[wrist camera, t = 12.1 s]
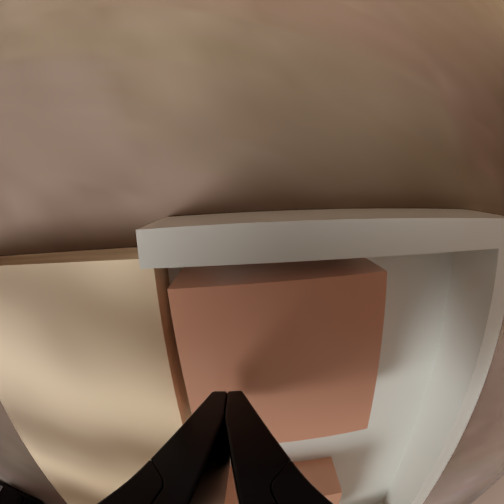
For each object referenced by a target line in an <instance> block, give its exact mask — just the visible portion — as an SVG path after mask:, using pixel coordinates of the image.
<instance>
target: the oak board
mask: <svg viewBox="0 0 504 504" xmlns="http://www.w3.org/2000/svg"><path fill="white" fill-rule="evenodd" d="M169 286H170V282H169V274H168V268H152V269H140V265H139V256H138V248H137V247H132V248H116V249H100V250H84V251H69V252H54V253H39V254H25V255H11V256H0V401H1V403H2V405H3V407H4V409H5V411H6V412H7V414H8V416H9V418H10V420H11V422H12V424H13V425H14V427H15V429H16V431H17V432H18V434H19V436H20V438H21V439H22V441H23V443H24V444H25V446H26V447H27V449H28V451H29V452H30V454H31V455H32V457H33V458H34V460H35V461H36V463H37V464H38V466H39V467H40V469H41V470H42V471H43V473H44V474H45V476H46V477H47V478H48V480H49V481H50V482H51V484H52V485H53V486H54V488H55V489H56V490H57V492H58V493H59V494H60V495H61V497H62V498H63V499H64V500H65V502H66V503H67V504H97V503H99V502H100V501H101V500H103V499H104V498H106V497H107V496H108V495H110V494H111V493H112V492H114V491H115V490H117V489H118V488H119V487H120V486H122V485H123V484H124V483H125V482H127V481H128V480H129V479H130V478H131V477H132V476H133V475H134V474H136V473H137V472H138V471H139V470H140V469H141V468H142V467H143V466H144V465H145V464H146V463H147V462H148V461H149V460H151V458H152V457H153V456H154V455H155V454H156V453H157V452H158V451H159V449H160V448H161V447H162V446H163V445H164V444H165V443H166V442H167V441H168V440H169V439H170V438H171V437H172V436H173V435H174V434H175V432H176V431H177V430H178V429H179V428H180V427H181V426H182V425H183V424H184V423H185V422H186V421H187V419H188V418H189V417H190V416H191V410H190V405H189V400H188V395H187V391H186V386H185V382H184V377H183V373H182V368H181V363H180V358H179V353H178V348H177V343H176V338H175V332H174V327H173V321H172V315H171V309H170V303H169V297H168V291H167V289H168V288H169Z"/></svg>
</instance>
